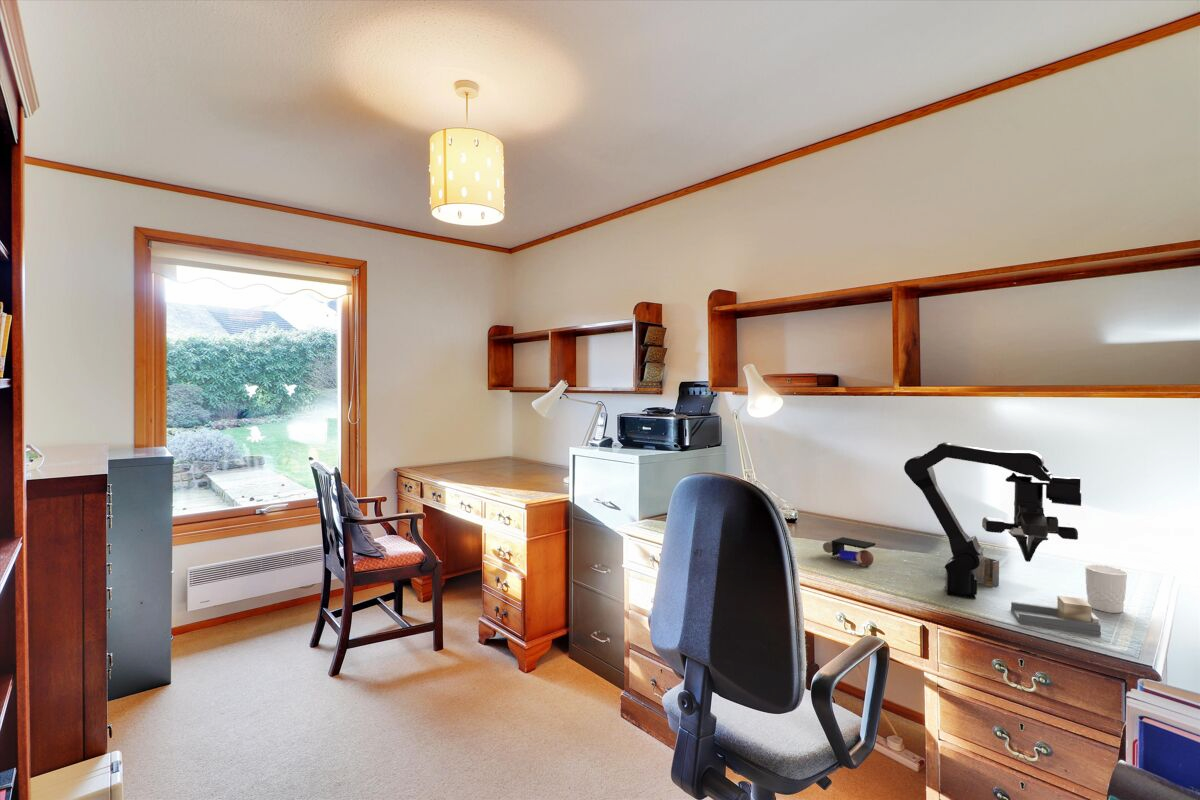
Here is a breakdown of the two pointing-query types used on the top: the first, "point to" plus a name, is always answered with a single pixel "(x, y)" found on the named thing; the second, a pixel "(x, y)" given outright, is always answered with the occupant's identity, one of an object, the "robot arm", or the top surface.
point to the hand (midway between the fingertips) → (1027, 561)
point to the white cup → (1106, 587)
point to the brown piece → (987, 572)
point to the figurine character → (838, 549)
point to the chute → (1052, 619)
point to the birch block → (1073, 609)
